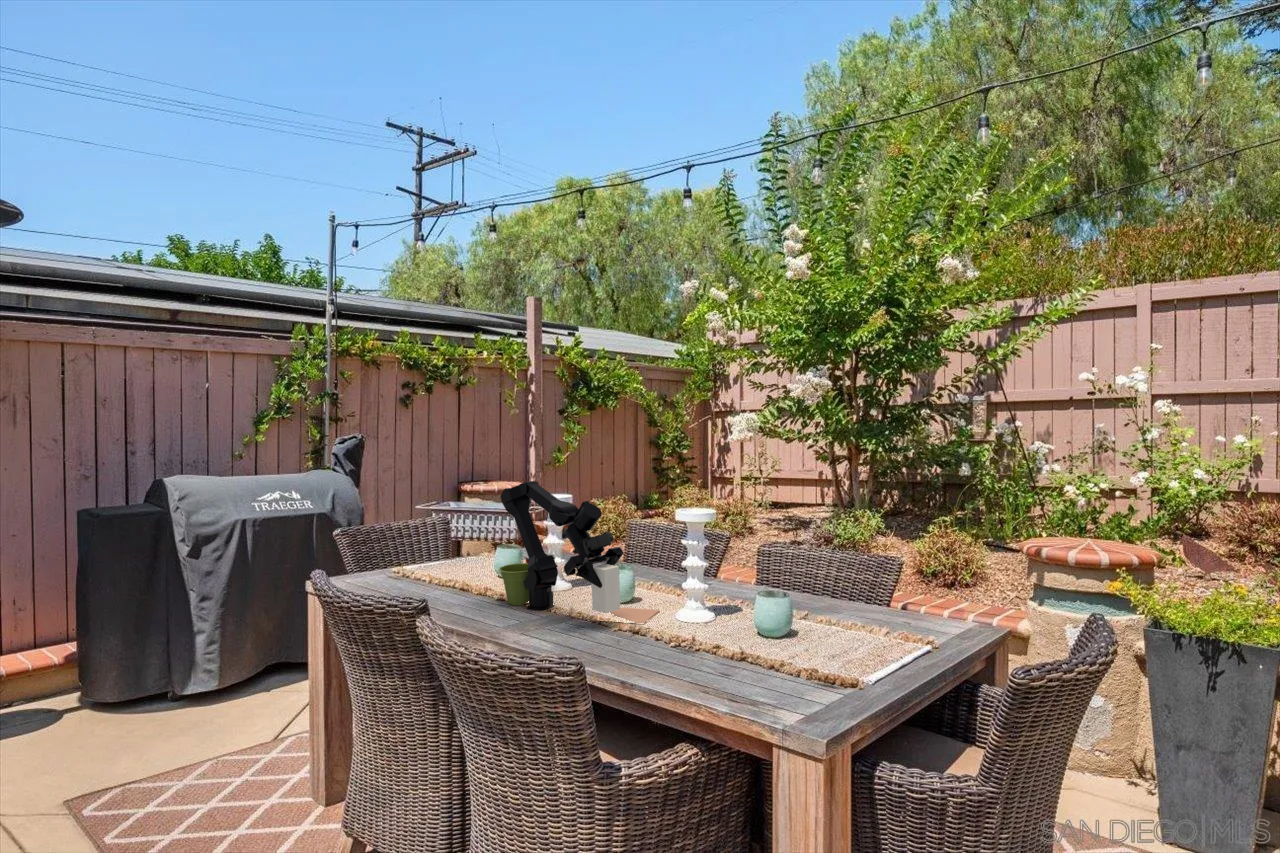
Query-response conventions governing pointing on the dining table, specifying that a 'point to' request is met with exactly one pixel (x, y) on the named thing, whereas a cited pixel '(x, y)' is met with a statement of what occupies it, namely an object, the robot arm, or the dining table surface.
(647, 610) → the terracotta mat
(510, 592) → the plant pot
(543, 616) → the dining table surface
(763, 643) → the dining table surface
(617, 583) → the cream block
